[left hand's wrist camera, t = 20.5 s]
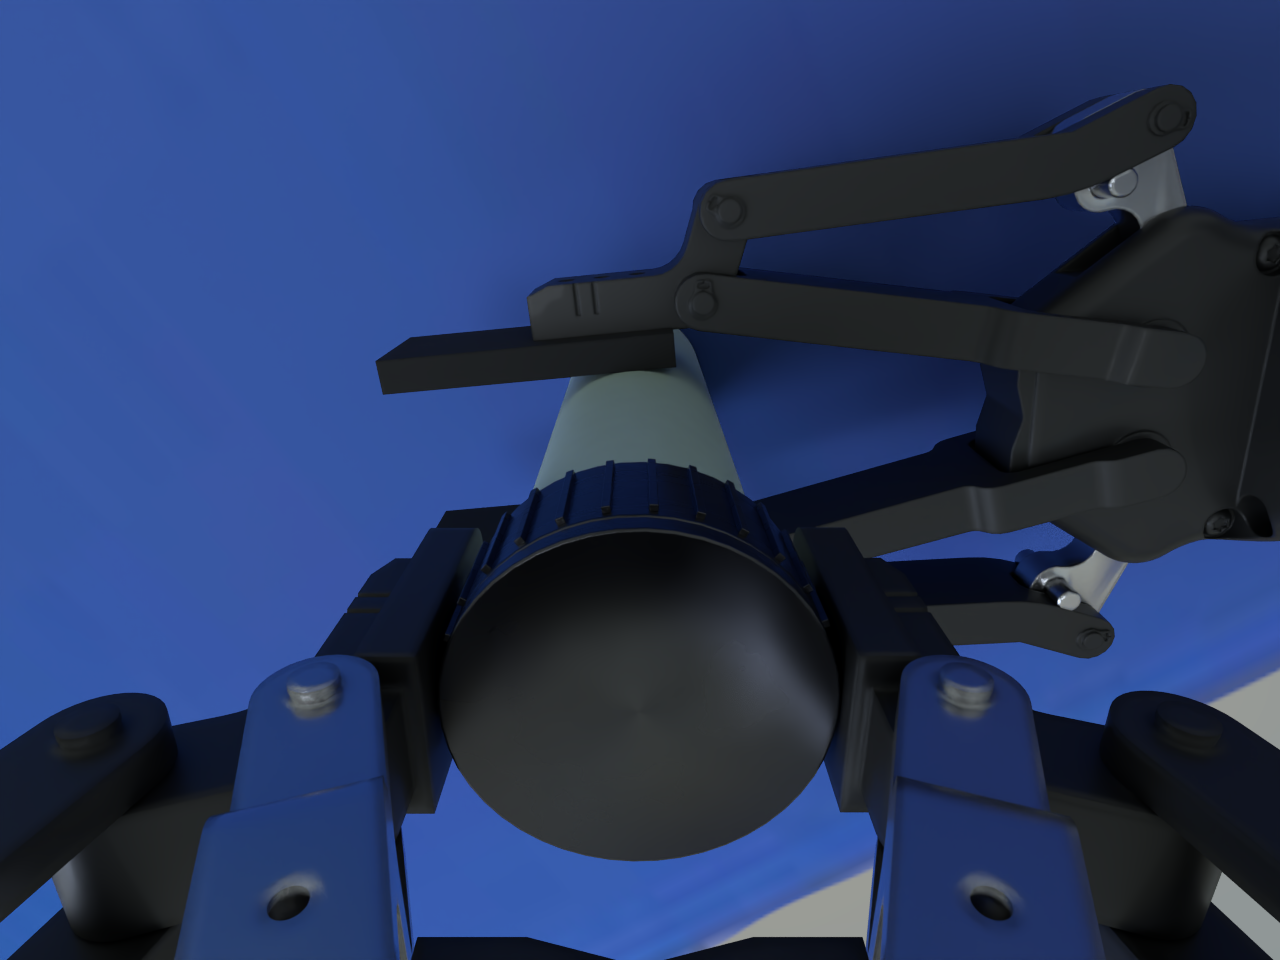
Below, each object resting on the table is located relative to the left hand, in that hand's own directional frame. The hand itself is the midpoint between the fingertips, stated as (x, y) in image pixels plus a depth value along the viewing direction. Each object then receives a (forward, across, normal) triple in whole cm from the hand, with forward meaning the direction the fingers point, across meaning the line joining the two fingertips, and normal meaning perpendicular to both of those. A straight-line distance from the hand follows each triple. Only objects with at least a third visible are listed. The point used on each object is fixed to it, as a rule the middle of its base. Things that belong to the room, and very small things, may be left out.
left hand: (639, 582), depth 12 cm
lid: (-3, 0, 0) cm, 3 cm away
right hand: (+7, -5, 0) cm, 9 cm away
